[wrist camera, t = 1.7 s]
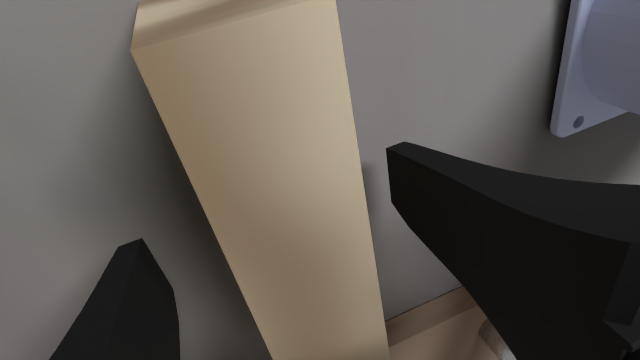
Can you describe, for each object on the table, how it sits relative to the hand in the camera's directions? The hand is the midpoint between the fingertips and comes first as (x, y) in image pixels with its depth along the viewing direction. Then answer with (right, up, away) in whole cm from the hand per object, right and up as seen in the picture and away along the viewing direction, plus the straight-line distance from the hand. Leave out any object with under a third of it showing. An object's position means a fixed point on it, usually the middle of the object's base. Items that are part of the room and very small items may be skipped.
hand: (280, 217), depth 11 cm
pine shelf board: (-1, +1, +1) cm, 2 cm away
